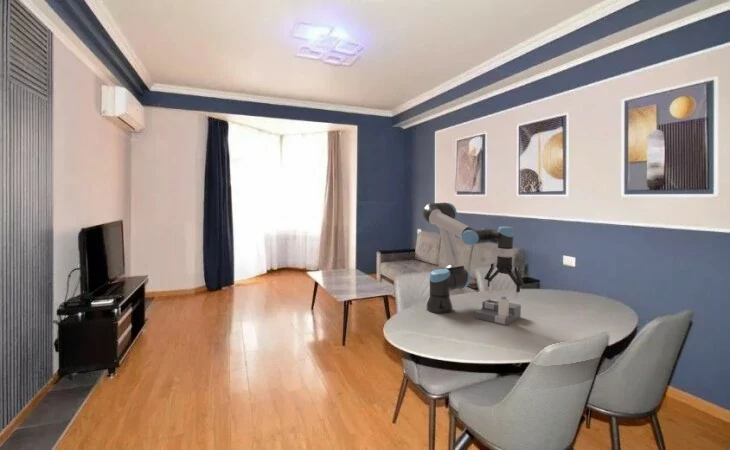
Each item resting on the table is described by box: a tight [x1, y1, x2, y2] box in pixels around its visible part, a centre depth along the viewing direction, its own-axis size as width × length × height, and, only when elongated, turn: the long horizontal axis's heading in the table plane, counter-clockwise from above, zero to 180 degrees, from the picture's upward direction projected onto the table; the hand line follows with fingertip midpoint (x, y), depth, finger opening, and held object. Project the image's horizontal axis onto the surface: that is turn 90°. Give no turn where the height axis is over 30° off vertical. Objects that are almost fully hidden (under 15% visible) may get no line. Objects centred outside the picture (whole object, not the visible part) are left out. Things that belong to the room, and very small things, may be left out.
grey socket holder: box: [474, 298, 522, 326], centre depth 205 cm, size 18×18×7 cm
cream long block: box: [498, 295, 510, 318], centre depth 198 cm, size 4×4×13 cm
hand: (503, 295), depth 198 cm, fingers open, 13 cm apart
